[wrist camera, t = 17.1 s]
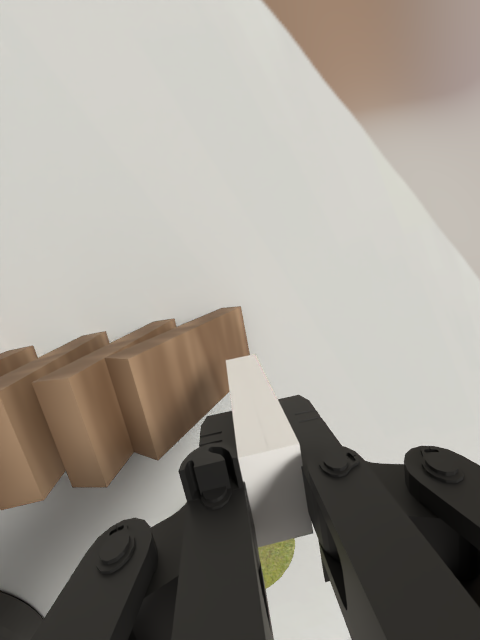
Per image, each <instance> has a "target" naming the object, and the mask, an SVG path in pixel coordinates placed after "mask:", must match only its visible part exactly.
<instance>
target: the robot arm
mask: <svg viewBox="0 0 480 640" xmlns="http://www.w3.org/2000/svg"><path fill="white" fill-rule="evenodd" d="M226 367H227V375H228V383H229V391H230V399H231V407H232V411H229V412H225V413H220V414H216V415H211V416H207V417H206V419H205V421H204V422H203V424H202V425H201V431H200V443H199V446H200V447H199V448H197V449H196V450H194V451H193V452H191V453H190V454H189V455H188V456H187V457H186V458H185V459H184V461H183V462H182V464H181V466H180V469H179V474H180V478H181V481H182V485H183V489H184V492H185V496H186V499H187V503H186V504H185V505H184V506H183V507H182V508H181V509H180V510H179V511H178V512H176V513H175V514H174V515H172V516H171V517H169V518H167V519H165V520H164V521H162V522H160V523H158V524H156V525H155V526H153V527H151V528H150V526H149V525H148V524H147V522H146V521H145V520H142V519H138V518H132V519H127V520H123V521H121V522H119V523H117V524H115V525H114V526H112V527H110V528H109V529H108V530H107V531H105V532H104V533H103V534H102V535H101V536H99V537H98V538H97V540H96V541H95V542H94V543H93V545H92V546H91V547H90V548H89V550H88V551H87V553H86V554H85V556H84V557H83V559H82V560H81V562H80V563H79V565H78V567H77V568H76V570H75V571H74V573H73V574H72V576H71V578H70V579H69V581H68V582H67V584H66V585H65V587H64V588H63V590H62V592H61V593H60V595H59V596H58V598H57V599H56V601H55V602H54V604H53V606H52V607H51V609H50V610H49V612H48V613H47V615H46V617H45V618H44V620H43V619H42V618H41V616H40V615H39V614H38V613H37V612H36V611H35V610H34V609H32V608H31V607H30V606H28V605H27V604H25V603H24V602H22V601H20V600H18V599H16V598H14V597H12V596H10V595H7V594H4V593H1V592H0V640H274V638H273V632H272V626H271V620H270V614H269V607H268V601H267V595H266V589H265V583H264V577H263V571H262V567H261V562H260V558H259V551H258V547H262V546H266V545H270V544H273V543H277V542H281V541H285V540H289V539H293V538H297V537H300V536H304V535H308V534H312V533H313V529H312V524H313V526H314V529H315V531H316V534H317V537H318V540H319V546H320V553H321V560H322V566H323V572H324V578H325V582H328V581H330V582H331V584H332V587H333V590H334V593H335V595H336V598H337V601H338V603H339V606H340V609H341V612H342V614H343V617H344V620H345V622H346V625H347V628H348V630H349V633H350V636H351V639H352V640H480V466H479V465H478V464H476V463H474V462H472V461H471V460H469V459H467V458H465V457H463V456H462V455H459V454H457V453H455V452H452V451H450V450H448V449H444V448H439V447H435V446H419V447H416V448H412V449H410V450H409V451H408V452H407V453H406V454H405V459H404V464H379V463H371V462H367V461H364V459H363V458H362V457H361V456H360V455H358V454H357V453H356V452H355V451H353V450H351V449H349V448H347V447H344V446H342V445H341V444H340V443H339V441H338V440H337V438H336V437H335V436H334V434H333V433H332V432H331V430H330V429H329V427H328V426H327V425H326V423H325V422H324V421H323V419H322V418H321V417H320V415H319V414H318V412H317V411H316V410H315V408H314V407H313V405H312V404H311V403H310V401H309V400H307V399H305V398H304V397H302V396H300V395H296V396H291V397H287V398H282V399H277V397H276V395H275V393H274V391H273V389H272V387H271V385H270V383H269V380H268V378H267V376H266V374H265V372H264V370H263V368H262V366H261V364H260V362H259V360H258V358H257V356H256V354H253V355H248V356H244V357H239V358H234V359H230V360H226ZM311 521H312V522H311Z"/></svg>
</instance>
